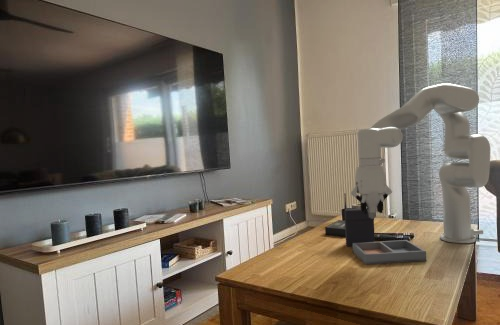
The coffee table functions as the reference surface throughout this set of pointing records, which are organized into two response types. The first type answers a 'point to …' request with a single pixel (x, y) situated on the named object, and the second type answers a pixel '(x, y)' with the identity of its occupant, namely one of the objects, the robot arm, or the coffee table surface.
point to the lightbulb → (372, 203)
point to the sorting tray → (388, 252)
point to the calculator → (358, 227)
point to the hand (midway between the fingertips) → (372, 212)
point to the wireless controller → (336, 227)
